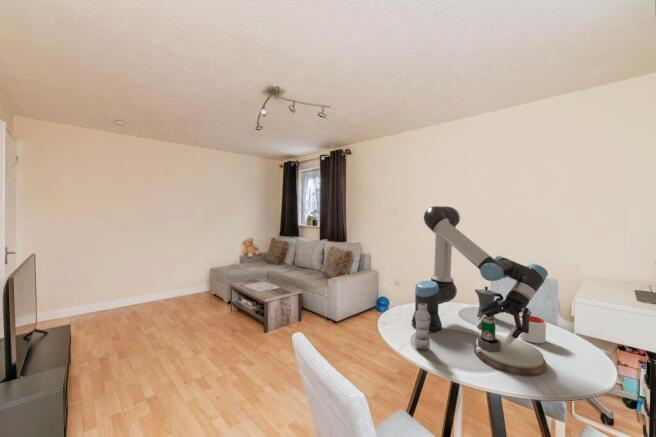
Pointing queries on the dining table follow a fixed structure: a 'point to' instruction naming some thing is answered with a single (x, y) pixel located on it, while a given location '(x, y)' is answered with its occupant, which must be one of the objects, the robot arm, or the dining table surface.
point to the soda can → (488, 330)
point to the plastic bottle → (422, 327)
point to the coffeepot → (486, 299)
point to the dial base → (509, 368)
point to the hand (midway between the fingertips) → (491, 335)
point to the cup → (535, 330)
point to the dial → (511, 352)
